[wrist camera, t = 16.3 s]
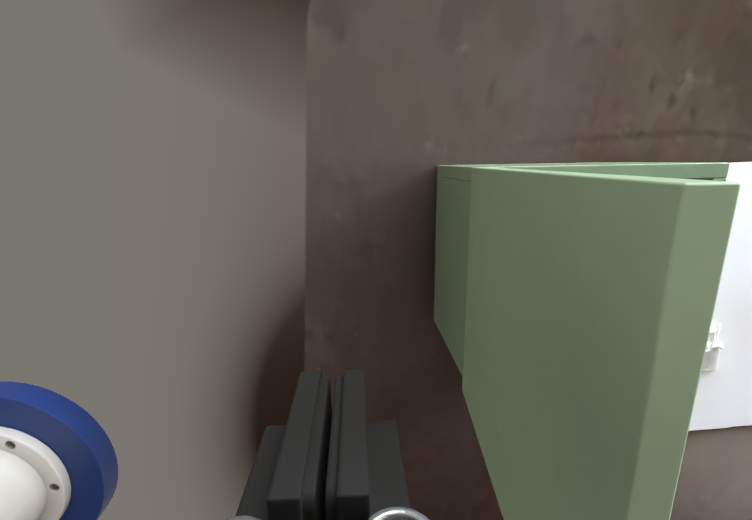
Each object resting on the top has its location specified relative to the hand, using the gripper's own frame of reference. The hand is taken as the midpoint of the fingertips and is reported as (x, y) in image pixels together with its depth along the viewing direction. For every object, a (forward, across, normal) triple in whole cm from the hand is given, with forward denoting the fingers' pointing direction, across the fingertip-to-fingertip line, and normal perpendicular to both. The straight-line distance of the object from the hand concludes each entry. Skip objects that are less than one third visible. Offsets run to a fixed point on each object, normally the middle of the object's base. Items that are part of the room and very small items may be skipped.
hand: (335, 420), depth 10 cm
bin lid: (+4, -7, 0) cm, 8 cm away
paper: (+21, -34, +6) cm, 40 cm away
